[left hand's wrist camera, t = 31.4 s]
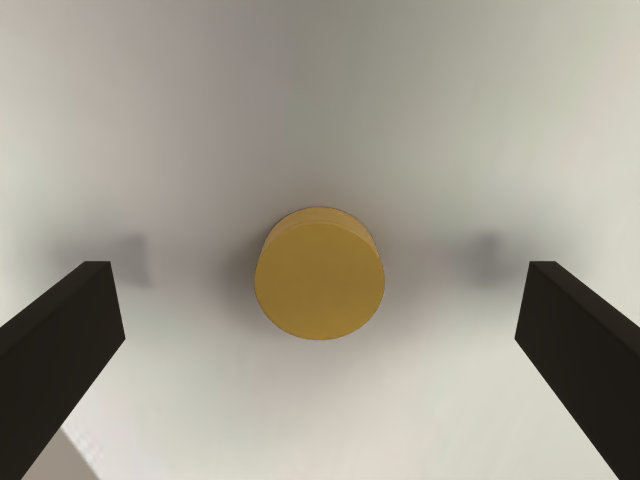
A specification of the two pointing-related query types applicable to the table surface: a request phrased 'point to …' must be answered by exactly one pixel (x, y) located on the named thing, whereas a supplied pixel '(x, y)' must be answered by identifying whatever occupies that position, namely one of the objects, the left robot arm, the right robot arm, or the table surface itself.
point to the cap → (319, 274)
